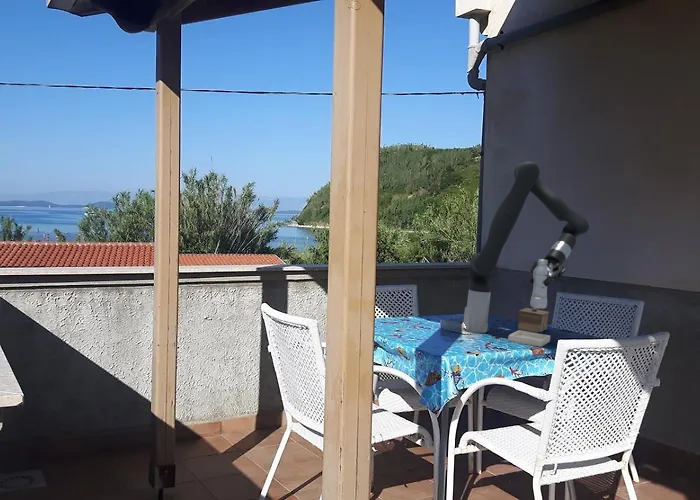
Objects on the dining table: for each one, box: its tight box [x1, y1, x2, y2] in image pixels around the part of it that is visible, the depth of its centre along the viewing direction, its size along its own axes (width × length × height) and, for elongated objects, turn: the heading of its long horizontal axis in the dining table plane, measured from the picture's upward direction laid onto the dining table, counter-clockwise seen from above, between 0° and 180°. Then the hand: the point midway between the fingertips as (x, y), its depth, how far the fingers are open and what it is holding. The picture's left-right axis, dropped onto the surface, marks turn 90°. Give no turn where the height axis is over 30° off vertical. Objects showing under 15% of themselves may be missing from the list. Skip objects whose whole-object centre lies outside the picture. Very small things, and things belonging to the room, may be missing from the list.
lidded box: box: [517, 307, 550, 333], centre depth 304 cm, size 13×11×9 cm
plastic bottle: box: [529, 258, 550, 310], centre depth 272 cm, size 6×7×20 cm
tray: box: [507, 329, 551, 348], centre depth 274 cm, size 16×13×2 cm
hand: (538, 283), depth 271 cm, fingers closed on plastic bottle, 6 cm apart
